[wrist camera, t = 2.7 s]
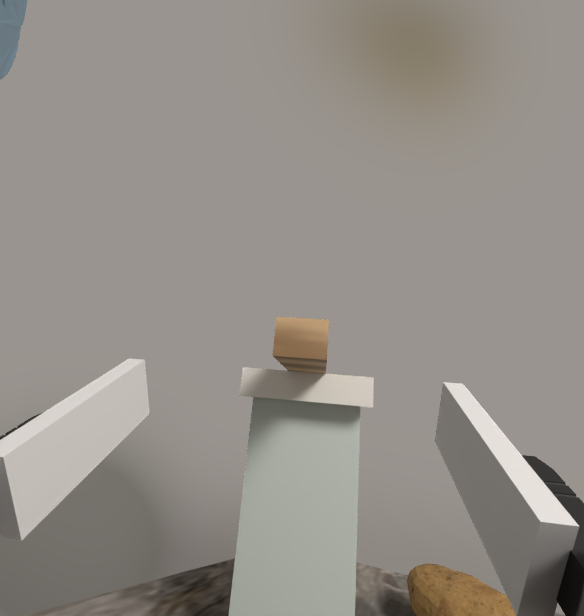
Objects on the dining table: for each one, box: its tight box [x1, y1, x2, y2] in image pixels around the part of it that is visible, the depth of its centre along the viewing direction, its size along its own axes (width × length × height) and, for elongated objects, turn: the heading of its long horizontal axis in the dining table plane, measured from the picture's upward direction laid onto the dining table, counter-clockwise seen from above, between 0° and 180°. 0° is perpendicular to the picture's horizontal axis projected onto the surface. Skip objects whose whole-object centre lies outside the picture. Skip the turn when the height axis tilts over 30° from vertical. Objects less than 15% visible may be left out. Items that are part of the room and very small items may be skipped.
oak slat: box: [273, 317, 329, 374], centre depth 39 cm, size 30×4×3 cm, turn 175°
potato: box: [407, 564, 516, 616], centre depth 39 cm, size 10×14×8 cm
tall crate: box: [229, 367, 373, 616], centre depth 40 cm, size 20×14×30 cm
